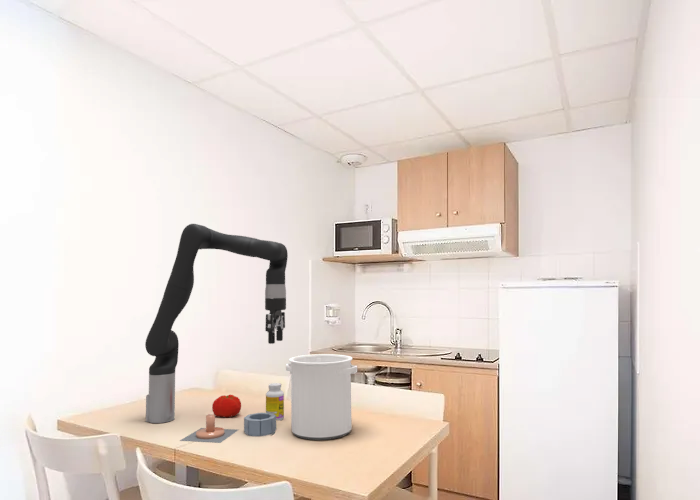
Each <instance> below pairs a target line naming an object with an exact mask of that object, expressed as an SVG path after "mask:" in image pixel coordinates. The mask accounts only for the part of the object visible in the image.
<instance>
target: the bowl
mask: <svg viewBox="0 0 700 500" xmlns="http://www.w3.org/2000/svg"><path fill="white" fill-rule="evenodd" d="M276 430H277V420H276V415H274V414H272V413H266V412H255V413H250V414H247V415H245V416H244V417H243V432H244V434H245V435H247V436H249V437H264V436H265V437H266V436H270V437H272V436H273V435H275V434H276Z"/></svg>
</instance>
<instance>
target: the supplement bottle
mask: <svg viewBox="0 0 700 500" xmlns="http://www.w3.org/2000/svg"><path fill="white" fill-rule="evenodd" d="M281 389H282V383H279V382H272V383H269V384H268V390H267V391H266V393H265V413H272V414H274V415H276V421H283V419H284V417H285V402H284V401H285V394H284V391H283V390H281Z"/></svg>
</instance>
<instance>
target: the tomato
mask: <svg viewBox="0 0 700 500" xmlns="http://www.w3.org/2000/svg"><path fill="white" fill-rule="evenodd" d="M211 409H212V412H213V415H215V417H218V418H227V419H228V418H230V417H235V416H237V415H239V413H240V412H241V410H242V402H241V399H240V398H239V397H238V396H235V395H233V394H228V395H220V396H218V398H216V399H215V400H214V401H213V402H212V408H211Z"/></svg>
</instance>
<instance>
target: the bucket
mask: <svg viewBox="0 0 700 500" xmlns="http://www.w3.org/2000/svg"><path fill="white" fill-rule="evenodd" d="M288 361H289V363H286V364H285V371H287V372H289V374H290V375H291V379H290V381H291V387H290V388H291V389H290V392H291V393H290V394H291V395H290V397H291V398H290V399H291V401H290V403H291V408H290V409H291V410H290V411H291V412H290V414H291V416H290V419H291V433H292V434H293V435H294V436H295V437H297V438H300V439H303V440H308V441H309V440H310V441H326V440H327V441H329V440H335V439H339V438H342V437H346V436H347V435H348V434H350V432H351V431H352V374H353V375H354V374H356V373H358V365H353V364H352V361H353V357H352V356H351V355H347V354H337V353H316V354H315V353H313V354H303V355H302V354H301V355H296V356H293V357H290V358H289V360H288Z"/></svg>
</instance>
